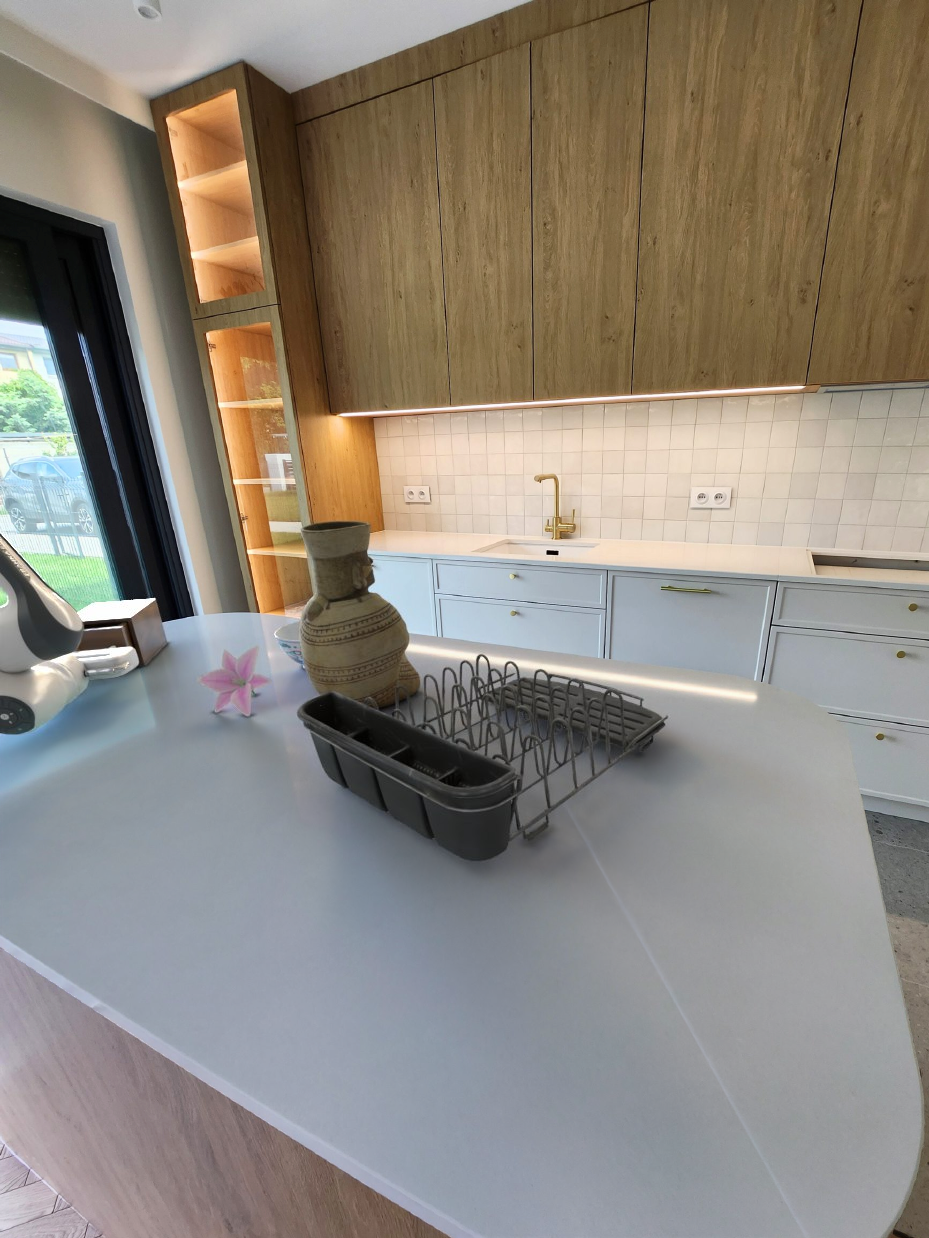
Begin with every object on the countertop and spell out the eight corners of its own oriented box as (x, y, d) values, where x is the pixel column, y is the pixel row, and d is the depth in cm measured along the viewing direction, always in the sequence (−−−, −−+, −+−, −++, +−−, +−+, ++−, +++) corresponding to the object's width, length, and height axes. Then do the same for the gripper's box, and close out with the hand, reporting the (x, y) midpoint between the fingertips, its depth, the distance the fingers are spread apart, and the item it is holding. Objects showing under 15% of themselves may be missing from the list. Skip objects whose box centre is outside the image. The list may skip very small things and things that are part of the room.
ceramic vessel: (407, 668, 116) (391, 511, 104) (432, 709, 98) (416, 525, 86) (307, 683, 110) (278, 519, 98) (314, 730, 92) (279, 536, 80)
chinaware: (266, 669, 118) (258, 632, 115) (326, 648, 129) (321, 614, 126) (313, 684, 110) (306, 645, 107) (373, 660, 121) (368, 624, 118)
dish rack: (298, 784, 78) (281, 701, 73) (519, 683, 107) (518, 620, 103) (476, 907, 56) (469, 801, 52) (691, 739, 86) (699, 662, 81)
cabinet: (145, 666, 121) (130, 617, 117) (76, 673, 119) (59, 622, 115) (167, 643, 135) (155, 598, 131) (107, 648, 133) (92, 603, 129)
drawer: (124, 678, 113) (111, 634, 109) (58, 684, 110) (42, 640, 107) (156, 646, 130) (146, 608, 127) (99, 652, 128) (87, 613, 124)
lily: (202, 707, 104) (177, 673, 96) (255, 665, 110) (235, 630, 102) (245, 740, 100) (223, 708, 92) (298, 695, 105) (281, 661, 98)
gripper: (117, 654, 101) (144, 630, 113) (-20, 666, 96) (23, 641, 109) (128, 687, 103) (153, 661, 115) (-6, 701, 99) (35, 672, 111)
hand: (89, 651), depth 112 cm, fingers closed on drawer, 6 cm apart
